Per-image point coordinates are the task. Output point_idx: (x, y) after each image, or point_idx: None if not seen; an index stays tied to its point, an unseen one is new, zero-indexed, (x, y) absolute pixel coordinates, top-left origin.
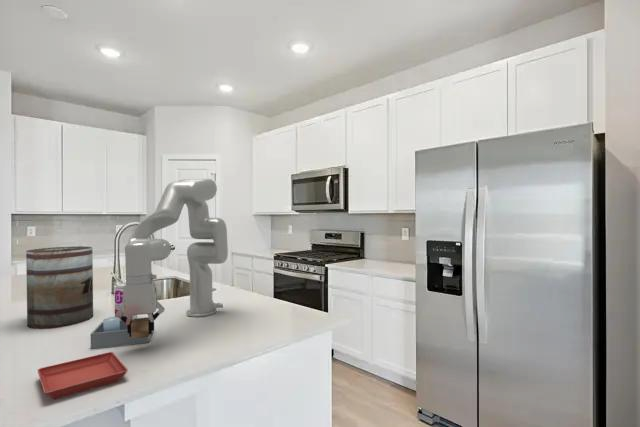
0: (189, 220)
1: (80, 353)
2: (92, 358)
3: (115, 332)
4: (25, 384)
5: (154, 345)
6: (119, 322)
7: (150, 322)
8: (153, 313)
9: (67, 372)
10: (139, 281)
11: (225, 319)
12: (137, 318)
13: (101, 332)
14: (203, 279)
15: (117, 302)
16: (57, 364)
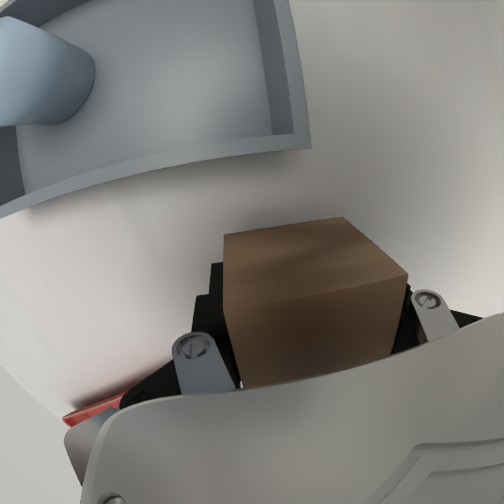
0: None
1: (22, 251)
2: None
3: (71, 191)
4: (67, 411)
5: (330, 203)
6: (40, 47)
7: (391, 353)
8: (457, 328)
9: (111, 404)
10: None
11: (493, 6)
12: (273, 308)
13: (6, 209)
14: None
15: None
16: (79, 414)
